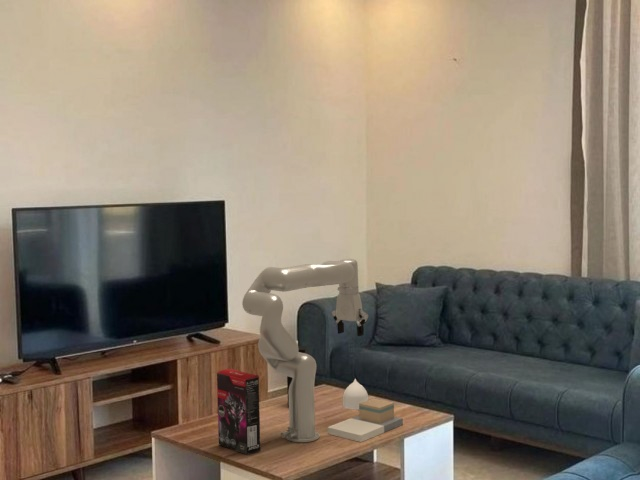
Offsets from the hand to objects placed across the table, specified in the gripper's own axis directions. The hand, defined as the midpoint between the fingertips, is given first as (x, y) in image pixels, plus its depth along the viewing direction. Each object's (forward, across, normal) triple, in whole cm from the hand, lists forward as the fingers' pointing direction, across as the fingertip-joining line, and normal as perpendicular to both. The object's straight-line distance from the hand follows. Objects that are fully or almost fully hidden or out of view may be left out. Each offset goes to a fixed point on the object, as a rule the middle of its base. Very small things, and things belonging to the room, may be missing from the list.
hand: (350, 334), depth 311 cm
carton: (+32, +10, +1) cm, 34 cm away
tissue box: (+35, -32, +3) cm, 47 cm away
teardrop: (+35, -12, +16) cm, 41 cm away
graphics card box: (+33, -13, -50) cm, 62 cm away
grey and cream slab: (+34, +10, -6) cm, 36 cm away
